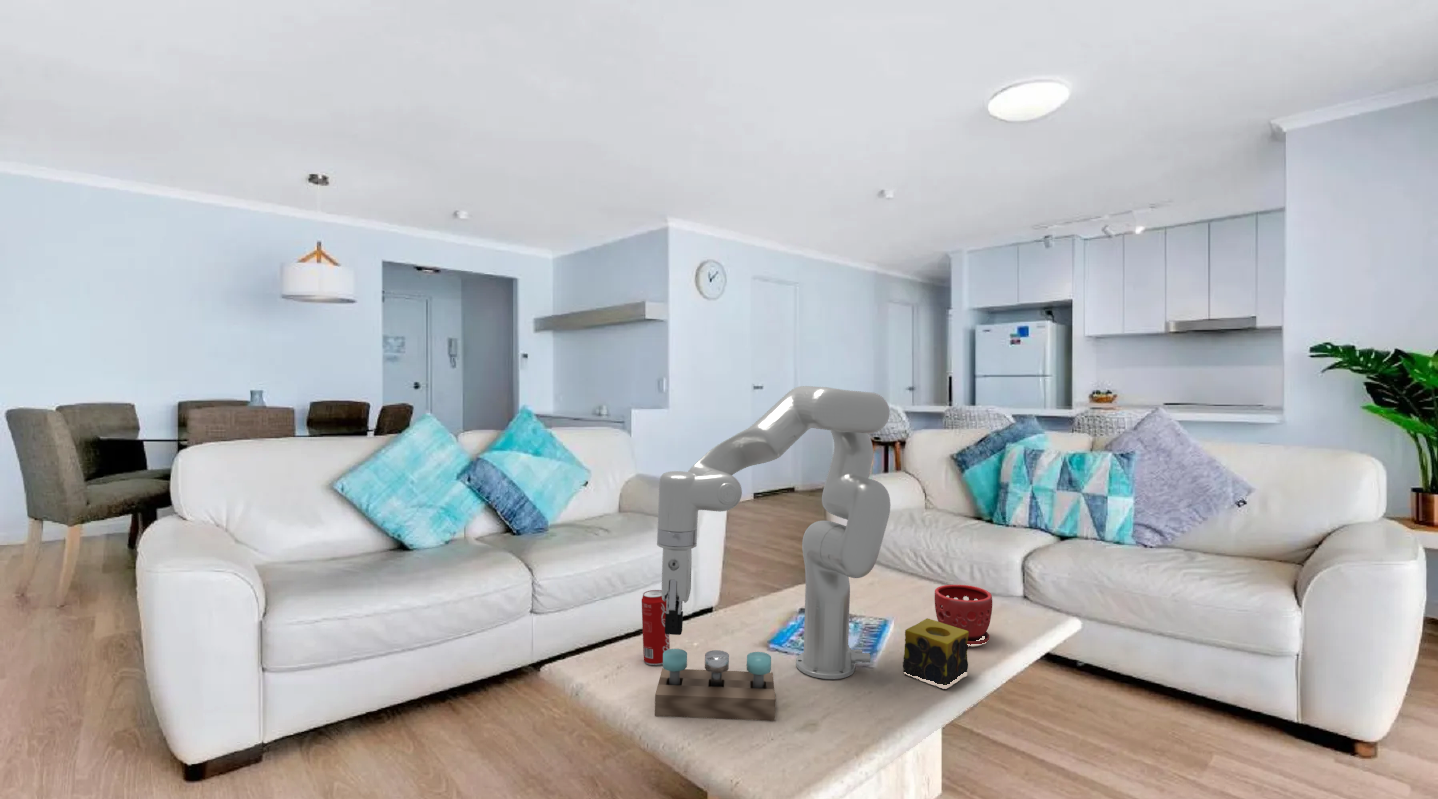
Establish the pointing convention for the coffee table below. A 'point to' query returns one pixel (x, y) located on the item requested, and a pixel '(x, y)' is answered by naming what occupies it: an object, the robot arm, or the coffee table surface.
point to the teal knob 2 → (758, 667)
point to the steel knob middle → (716, 666)
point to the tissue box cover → (935, 651)
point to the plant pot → (965, 610)
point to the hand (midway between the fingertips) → (673, 632)
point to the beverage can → (654, 627)
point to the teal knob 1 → (674, 664)
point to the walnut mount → (715, 696)
